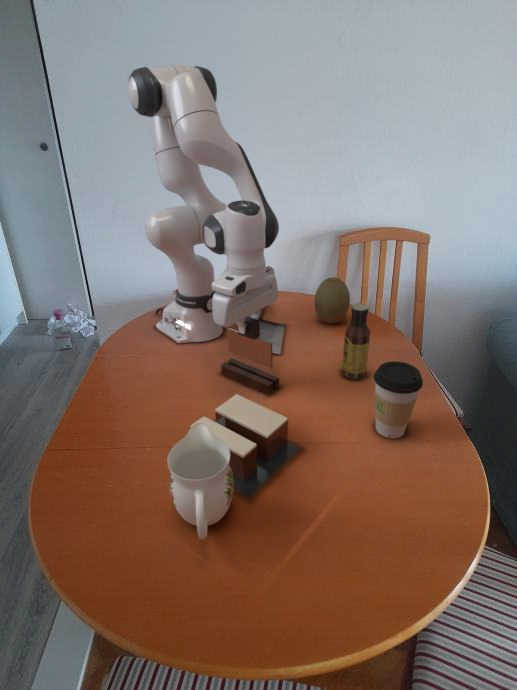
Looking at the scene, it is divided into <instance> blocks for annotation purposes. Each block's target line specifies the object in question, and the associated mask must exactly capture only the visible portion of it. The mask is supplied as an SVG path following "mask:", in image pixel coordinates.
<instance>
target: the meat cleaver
mask: <svg viewBox="0 0 517 690" xmlns="http://www.w3.org/2000/svg"><path fill="white" fill-rule="evenodd" d="M265 308H266V307H264V308H262V309H261V313H260V316H259V319H258V320H259V321H260V336H259V337H258V338H259V339H262V340H265V341H268V342H271V343H272V354H273V355H281V352H282V347H283V339H284V334H285V329H286V325H285V324H281V323H278V322H274V321H270V320H266V319H263V315H264V312H265ZM251 315H252V314H251ZM251 315H250V316H251Z"/></svg>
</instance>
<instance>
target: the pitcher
mask: <svg viewBox="0 0 517 690" xmlns="http://www.w3.org/2000/svg"><path fill="white" fill-rule="evenodd" d="M193 424H194V423H193ZM229 462H230V450H229V448H228V446H227V445H226V443H225V442H224V441H223V440H221V439H220V438H218V437H216V436H215V435H213V434H212V433H211V431H210V430H209V428H208V427H207V426H206V425H205V424H203V423H196V424H194V425H193V426H192V427H191V429H190V428H189V430H188V432H187V433H186V435H185V436H184V437H183V438H181V439H180V440H179V441H177V442H176V443H175V444H174V445H173V446H172V448H170V451H169V452H168V455H167V462H166V463H167V467H168V469H169V472H170V474H169V480H168V489H169V495H170V499H171V501H172V504H173V506H174V508H175V509H176V510H175V511H176V512H177V513H178V514H179V515H180V517H181V518H182V519H183V520H184V521H185V522H187V523H188V524H190V525H192V526H195V527H196V531H197V535H198V536H197V537H198V539H199V540H206V539H207V538H208V527H209V526H212V525H215V524H216V523H218V522H220V521H221V519H222V518H223V517H224V516H225V515H226V514H227V512H228V510H229V508H230V506H231V503H232V500H233V497H234V490H235V489H234V478H233V473H232V469H231V467H230V465H229Z"/></svg>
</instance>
